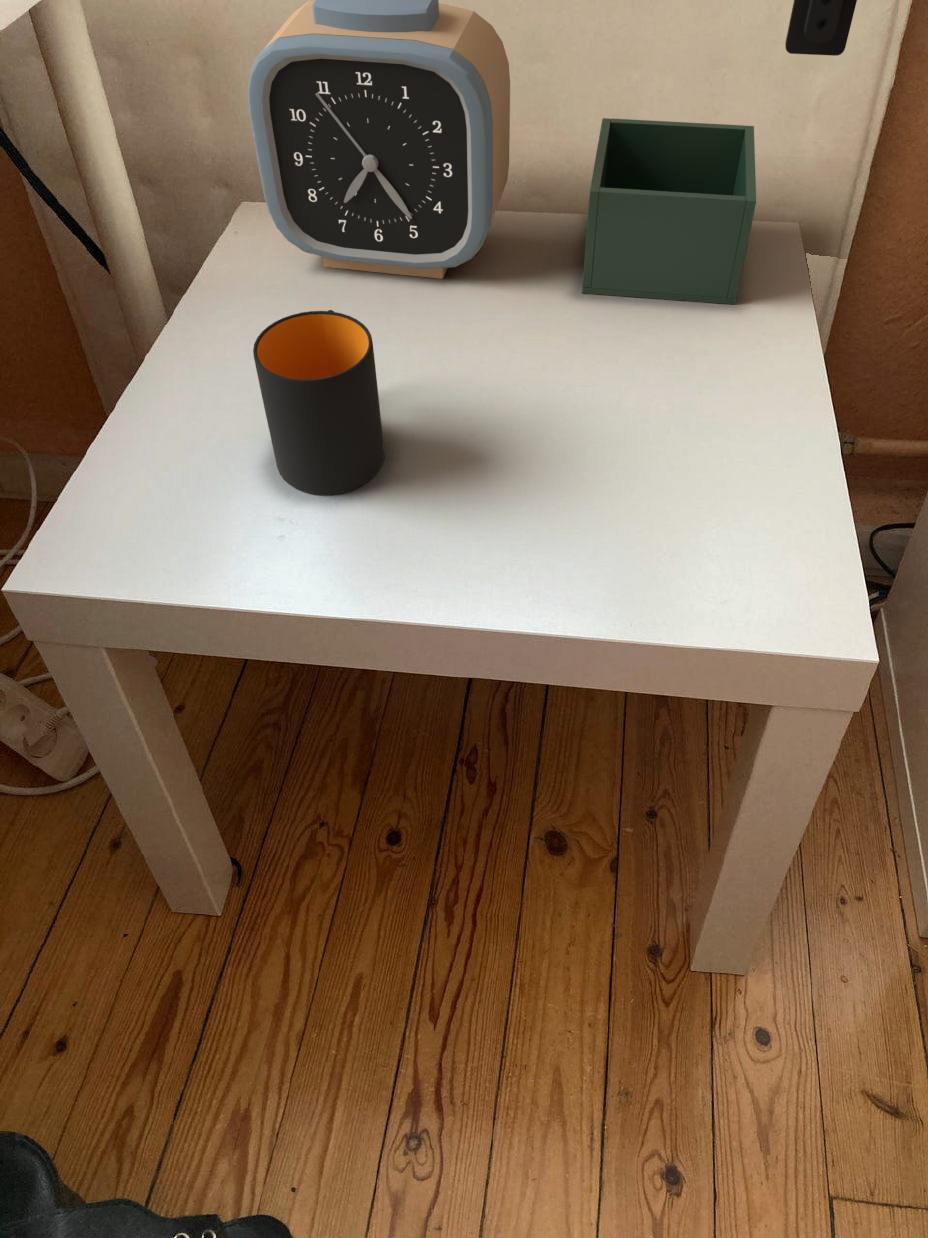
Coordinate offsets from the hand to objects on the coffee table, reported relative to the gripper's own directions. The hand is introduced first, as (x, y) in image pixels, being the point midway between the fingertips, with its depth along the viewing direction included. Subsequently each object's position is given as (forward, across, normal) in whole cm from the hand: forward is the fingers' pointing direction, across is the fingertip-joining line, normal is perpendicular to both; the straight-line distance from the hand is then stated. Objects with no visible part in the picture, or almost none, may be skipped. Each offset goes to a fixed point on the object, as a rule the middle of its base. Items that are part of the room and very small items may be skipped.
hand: (809, 18), depth 60 cm
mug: (+28, -9, +30) cm, 42 cm away
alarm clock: (+28, +19, +31) cm, 46 cm away
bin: (+28, +21, +6) cm, 36 cm away
